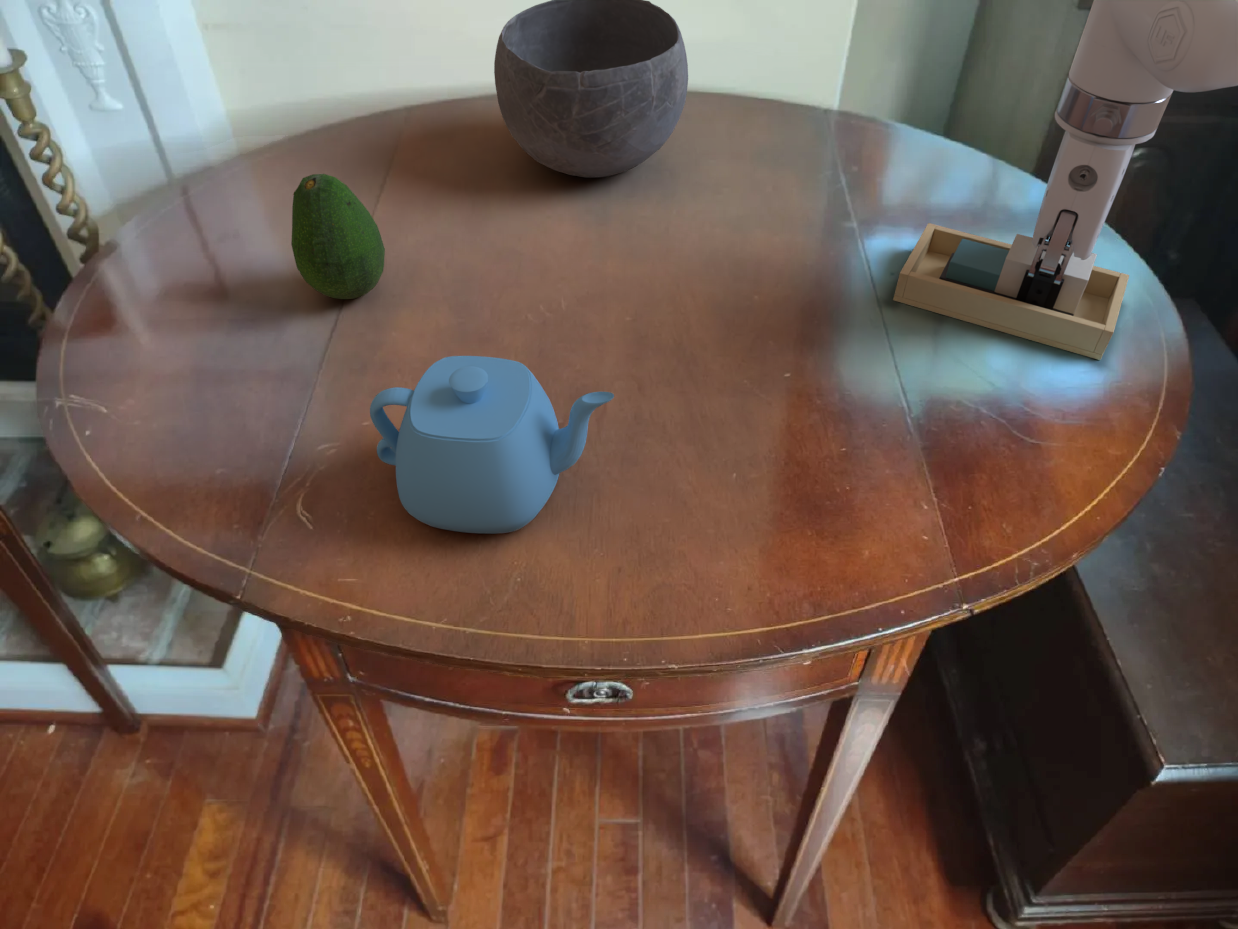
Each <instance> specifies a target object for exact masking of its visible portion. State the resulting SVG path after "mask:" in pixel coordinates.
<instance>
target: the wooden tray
mask: <svg viewBox="0 0 1238 929" xmlns="http://www.w3.org/2000/svg"><path fill="white" fill-rule="evenodd" d="M962 239H966V240H970V241H974V242H978V243H982V244H986V245H989V246H993V247H997V248H1001V249H1005V250H1008V251H1009V250H1010V248H1011V246H1012V244H1013V243H1009V242H1008V243H1007V242H1004V241H1000V240H996V239H992V238H988V237H985V236H980V235H976V234H973V233H969V232H965V231H962V230H958V229H953V228H949V227H946V226H943V225H938V224H935V223H930V222H928V223H927V224H926V227H925V228H924V230H923V231H922V233H921V235H920V236H919V238H918V240H917V242H916V244H915V245H914V247H913V249H912V251H911V252H910V254H909V256H908V258H907V260H906V262H905V263H904V265H903V266H902V268H901V270H900V272H899V274H898V279H897V283H896V286H895V290H894V295H893V298H892V301H894V302H897V303H901V304H904V305H908V306H911V307H915V308H918V309H922V310H925V311H929V312H932V313H936V314H939V315H943V316H945V317H950V318H953V319H957V320H961V321H962V322H967V323H971V324H973V325H977V326H979V327H984V328H987V329H991V330H995V331H998V332H1002V333H1004V334H1009V335H1011V336H1015V337H1019V338H1022V339H1025V340H1028V341H1032V342H1036V343H1039V344H1042V345H1046V346H1050V347H1054V348H1056V349H1059V350H1063V351H1067V352H1070V353H1074V354H1077V355H1081V356H1083V357H1088V358H1091V359H1095V360H1099V361H1101V360H1102V358H1103V357H1104V356H1103V355H1104V354H1105V352H1106V350H1107V347H1108V346H1109V342H1110V341H1111V339H1112V337H1113V335H1114V332H1115V330H1116V325H1117V322H1118V318H1119V315H1120V310H1121V307H1122V303H1123V301H1124V297H1125V293H1126V290H1127V286H1128V282H1129V279H1130V274H1127V273H1124V272H1120V271H1116V270H1111V269H1108V268H1104V267H1102V266H1101V267H1100V266H1097V265H1093V268H1092V271H1091V274H1090V277H1089V280H1088V283H1087V285H1086V288H1085V290H1084V292H1083V294H1082V297H1081V299H1080V301H1079V304H1078V306H1077V308H1076V311H1075V313H1074V315H1073V316H1071V315H1067V314H1064V313H1060V312H1057V311H1053V310H1049V309H1046V308H1042V307H1039V306H1035V305H1031V304H1028V303H1024V302H1020V301H1017V300H1013V299H1010V298H1006V297H1002V296H999V295H995V294H992V293H988V292H984V291H981V290H977V289H974V288H970V287H966V286H963V285H959V284H956V283H952V282H948V281H945V280H941V279H939V278H940V276H941V274H942V272H943V270H944V268H945V266H946V264H947V262H948V260H949V258H950V256H951V254H952V253H955V251H956V249H957V248H958V246H959V244H960V242H961V240H962Z"/></svg>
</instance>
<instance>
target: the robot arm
mask: <svg viewBox="0 0 1238 929" xmlns="http://www.w3.org/2000/svg"><path fill="white" fill-rule="evenodd" d="M1231 87H1238V0H1093V2H1092V4H1091V8H1090V10H1089V13H1088V16H1087V19H1086V23H1085V24H1084V28H1083V30H1082V34H1081V36H1080V40H1079V42H1078V45H1077V48H1076V51H1075V54H1074V57H1073V59H1072V63H1071V65H1070V69H1069V71H1068V73H1067V76H1066V80H1065V82H1064V86H1063V88H1062V92H1061V94H1060V97H1059V100H1058V103H1057V107H1056V109H1055V111H1054V120H1055V122H1056V123H1057V125H1058V126H1059V127H1060V128H1061V129H1063V130H1064V133H1063V137H1062V140H1061V142H1060V145H1059V148H1058V150H1057V154H1056V157H1055V160H1054V162H1053V165H1052V169H1051V171H1050V174H1049V177H1048V180H1047V183H1046V187H1045V190H1044V194H1043V197H1042V201H1041V204H1040V206H1039V211H1038V215H1037V218H1036V223H1035V226H1034V230H1033V234H1032V241H1031V242H1032V244H1033V245H1034V247H1035V248H1037V245H1038V249H1037V251H1036V254H1035V257H1034V259H1033V262H1032V265H1031V267H1030V270H1026V273H1025V275H1024V278H1023V281H1022V284H1021V286H1020V289H1019V292H1018V294H1017V297H1016V300H1017V301H1020V302H1024V303H1028V304H1031V305H1035V306H1039V307H1042V308H1046V309H1049V310H1053V307H1054V305H1055V302H1056V300H1057V297H1058V295H1059V292H1060V290H1061V287H1062V285H1063V282H1064V279H1062V277H1063V275H1064V272H1065V270H1066V267H1067V265H1068V262H1069V260H1070V257H1071V256H1072V254H1073V253H1074V257H1078V258H1081V260H1086V259H1088V258H1089V257H1090V256H1091V254H1092V253H1093V251H1094V249H1095V247H1096V244H1097V241H1098V239H1099V236H1100V234H1101V232H1102V230H1103V227H1104V224H1105V222H1106V220H1107V218H1108V215H1109V213H1110V211H1111V208H1112V205H1113V203H1114V201H1115V199H1116V196H1117V193H1118V191H1119V189H1120V186H1121V184H1122V181H1123V179H1124V177H1125V174H1126V171H1127V169H1128V166H1129V163H1130V161H1131V158H1132V156H1133V153H1134V150H1135V147H1136V145H1139V144H1143V143H1145V142H1148V141H1149V140H1151V139H1152V138H1154V136H1155V135H1156V132H1157V129H1158V128H1159V126H1160V125H1159V124H1160V123H1161V120H1162V118H1163V116H1164V113H1165V111H1166V109H1167V107H1168V104H1169V102H1170V99H1171V97H1172V95H1173V92H1174V91H1175V92H1181V93H1202V92H1210V91H1214V90H1220V89H1226V88H1231ZM1043 251H1045V252H1046V253H1045V256H1044V259H1041V256H1042V253H1043ZM1061 256H1064V257H1063V260H1062V262H1061V265H1060V263H1058V262H1059V260H1060V257H1061ZM1040 259H1041V260H1040Z"/></svg>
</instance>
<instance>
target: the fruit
mask: <svg viewBox="0 0 1238 929" xmlns="http://www.w3.org/2000/svg"><path fill="white" fill-rule="evenodd" d="M291 209H292V214H291V216H292V217H291V244H290V245H291V249H292V253H293V258H294V262H295V266H296V269H297V271H298V272H299V273H300V276H301V277H302V279H304V281H305V282H306V283H307V284H308V285H309V286H310V287H311V288H313V290H315V291H316V292H318V293H321V294H322V295H324V296H326V297H329V298H332V299H338V300H351V299H357V298H359V297H363V296H365V295H367V294H368V293H369V292H371V291H372V290H373V289H374V288H375V287H376V286H377V285H378V283H379V281H380V279H381V277H382V275H383V273H384V269H385V257H386V256H385V252H386V248H385V244H384V241H383V238H382V235H381V232H380V229H379V226H378V224H377V223H376V221H375V219H374V218H373V216H372V215H371V213H370V211H369V210H368V209H367V207H366V206H365V205H364V203H362V202H361V200H360V198H358V197H357V195H356V194H355V193H354V192H353V191H352V190H351V189H350V187H348V185H347V184H345V183H344V182H343V181H341V180H340V179H338V178H337V177H335V176H333V175H329V174H326V173H315V174H310V175H308V176H305V177H303V178H302V179H301V181H300V182H299V184H298V186H297V188H296V189H295V190H294V192H293V198H292V207H291Z"/></svg>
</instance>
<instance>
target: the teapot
mask: <svg viewBox="0 0 1238 929" xmlns="http://www.w3.org/2000/svg"><path fill="white" fill-rule="evenodd" d="M614 398H615V394H614V393H613V392H611V391H592V392H589V393H586V394H585V393H584V394H583V395H581V396H579V397H578V398H577V399H575V401H574V402H573V404H572V406H571V408H570V411H569V415H568V416H569V417H568V421H567V425H566V426H564V427H562V428H561V427H560V426H559V422H558V419H557V415H556V412H555V410H554V407H553V404H552V402H551V400H550V397H549V396H548V395H547V392H546V391H545V390H544V388H543V386H542V385H541V383H540V382H539V381H538V379H537V378H536V376H535V375H534V374H533V372H532V371H531V370H530V369H529V368H528V367H527V366H526V365H525V364H523V363H522V362H519V361H518V360H512V359H508V358H502V357H492V356H482V355H481V356H480V355H452V356H445V357H443V358H441V359H439V360H437V361H435V362H434V363H432V364H431V365H430V366H429V367H428V368H427V369H426V370H425V372H424V373H423V374H422V376H421V377H420V378H419V380H418V382H417V384H416V385H415V388H414V390H413V389H411V388H407V387H401V386H400V387H399V386H395V387H389V388H386V389H383V390H381V391H379V392H378V393H377V394H376V395H375V396H374V397H373V399H372V401H371V403H370V407H369V416H370V419H371V422H372V424H373V426H374V427H375V429H376V431H377V433H378V434H379V435H380V436H381V437H382V438H381V439H380V440H379V441H378V442H377V445H376V454H377V457H378V459H379V460H380V461H381V462H383V463H385V464H388V465H390V466H395V480H396V487H397V488H396V489H397V494H398V498H399V500H400V504H401V506H402V507H403V508H404V510H405V511H406V512H407V513H408V514H409V515H410V516H412V517H413V518H414V519H415V520H418V521H420V522H421V523H423V524H425V525H428V526H429V527H433V528H436V529H440V530H446V531H452V532H458V533H467V534H487V535H488V534H489V535H491V534H492V535H493V534H494V535H495V534H507V533H512V532H516V531H519V530H521V529H522V528H524V527H525V526H527V525H528V524H529V523H531V522H532V521H533V520H534V519H535V518H536V517H537V516H538V514H540V512H541V510H542V509H543V508H544V507H545V505H546V504H547V502H548V500H550V498H551V495H552V494H553V492H554V490H555V488H556V485H557V483H558V481H559V477H560V474H561V473H563V472H565V471H567V470H569V469H571V467H573V466H574V465H576V463H577V462H578V460H579V459H580V458H581V456H582V454H583V453H584V449H585V446H586V443H587V438H588V432H589V431H588V430H589V422H590V418H591V416H592V414H593V413H594V411H595V410H596V409H597V408H600V407H601V406H603V405H605V404H607V403H610V402H611V401H612V400H613V399H614ZM386 406H400V407H406V408H405V411H404V414H403V417H402V419H401V423H400V427H399V429H397V427H396V426H395V424H394V423H393V422H392V421H391V419H390V418H389V416H388V415H387V414H386V411H385V409H384V407H386Z"/></svg>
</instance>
